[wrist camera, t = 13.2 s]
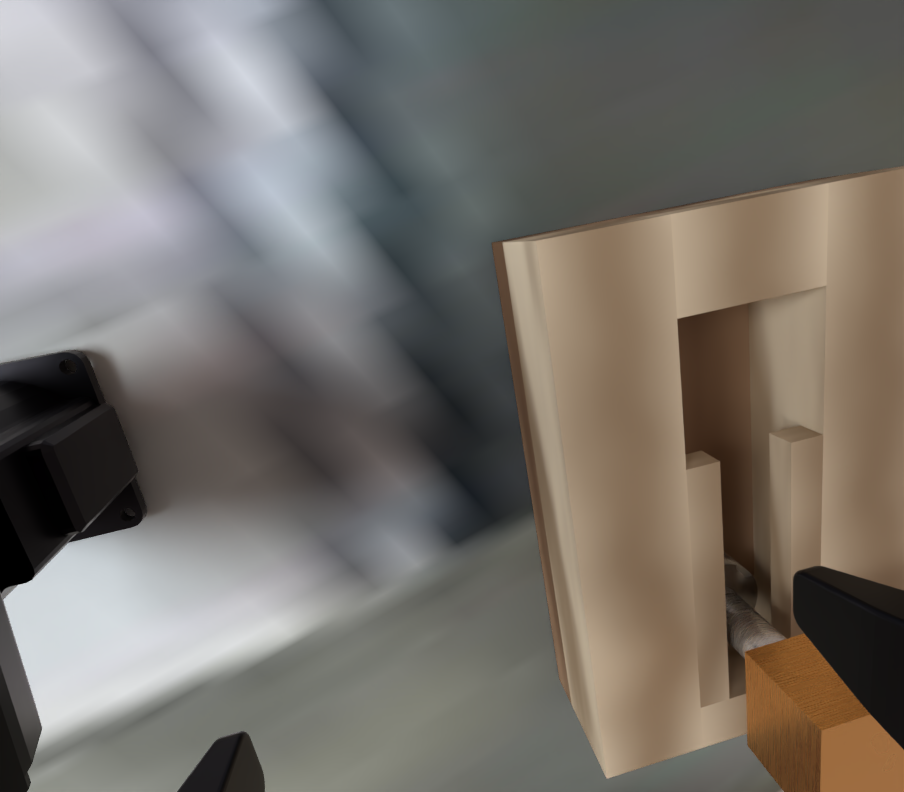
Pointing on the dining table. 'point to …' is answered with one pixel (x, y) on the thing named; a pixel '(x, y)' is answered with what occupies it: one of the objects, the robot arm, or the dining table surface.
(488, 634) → the dining table surface
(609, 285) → the keyhole track
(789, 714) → the peg
